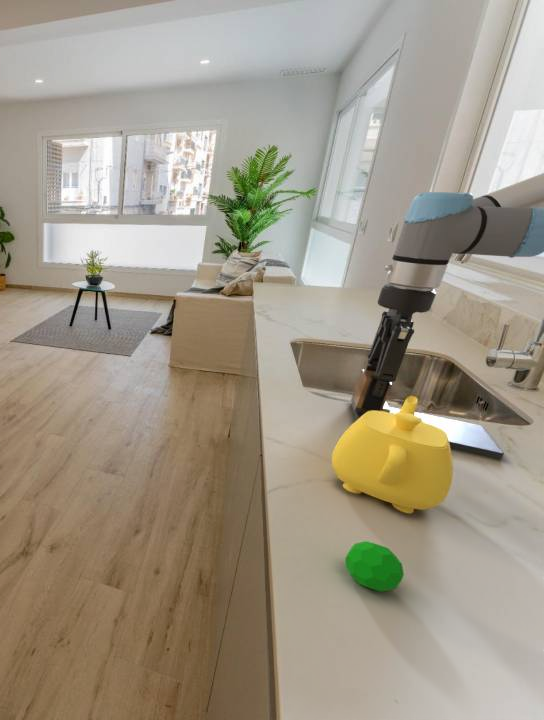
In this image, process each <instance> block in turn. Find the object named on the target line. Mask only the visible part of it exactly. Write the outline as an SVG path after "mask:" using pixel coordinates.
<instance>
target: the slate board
mask: <svg viewBox="0 0 544 720" xmlns="http://www.w3.org/2000/svg"><path fill="white" fill-rule="evenodd" d="M350 406H351V410H352V414H353V418H354V422H355V421H357V420H358V419H359V418H360V417H361V416H362V415H364V414H362V413H358V412H354V408H353V405H352V403H351V404H350ZM389 408H390V410H391V411H390V413H393V414H395V413H397V412H399V411H400V410H401V408H398V407H397V408H396V407H392V406H389ZM414 415H415V416H417V417H418V418H419V417H424V418H429V419H433V420H434V422H435V423H436V425H437V426H438V428H440V429H442V430H443V431H444V432H445V433H446V434H447V436H448V440H449V444H450V449H451V450H454V451H459V452H463V453H468V454H472V455H476V456H481V457H485V458H490V459H494V460H498V461H502V458H503V457H504V452H503V451H502V450H501V448H500V447H499V446H498V445H497V443H496V442H495V441H494V440H493V439H492V437H491V435H489V434H488V432H487V431H486V430H485V429H484V427H483V426H482V425H480V424H476V423H471V422H467V421H462V420H456V419H451V418H446V417H441V416H436V415H433V414H432V415H431V414H427V413H421V412H416V411H415V414H414Z"/></svg>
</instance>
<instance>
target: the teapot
mask: <svg viewBox="0 0 544 720" xmlns="http://www.w3.org/2000/svg"><path fill="white" fill-rule="evenodd" d="M418 399H419V398H417V396H415V395H409V396H407V398H406V399H405V401H404V402H403V404H402V406H401V408H400V409H401V410H400V411H399V412H397V413H395V414H393V413H388V412H383V411H375V410H372V411H368V412H366V413H365V414H364V415H362V416H361V417H360V418H359V419H358V420H357V421H355V420H354V422H353V423H351V425H350V426H349V427H348V428H347V429H346V430H345V431H344V432H343V434H341V437H340V438H339V439H338V441H337V443H336V445H335V446H334V448H333V452H332V453H331V454H332V455H331V466H332V468H333V471H334V473H335V475H336V477H337V478H338V479H339V480H340V481H342V482H343V484H342V487H343V488H344V490H346V491H348V492H350V493H353V494H356V495H357V494H362V493H363V494H366V495H369V496H371V497H373V498H375V499H378V500H382V501H384V502H387V503H391V505H392V506H393V508H394V509H396V510H398V511H399V512H402V513H405V514H413V513H414V512H415V510H420V511H421V510H428V509H432V508H434V507H436V506H438V505H440V504H442V503H443V502H444V501H445V499H446V498H447V497H448V494H449V491H450V488H451V485H452V480H453V474H454V473H453V472H454V464H453V457H452V455H453V454H452V449H450V444H449V440H448V436H447V434H446V433H445V432H444V431H443V430H442V429H440V428H438V427H436V426H433V425H431V424H428V423H425V422H422V421H421V419H420V418H418V417H417V416H415V415H414V414H415V412H416V410H417V406H418V402H419V400H418Z"/></svg>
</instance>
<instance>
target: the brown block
mask: <svg viewBox="0 0 544 720" xmlns="http://www.w3.org/2000/svg"><path fill="white" fill-rule="evenodd" d="M375 373H376V372H375V371H370V370H366V369H361V371H360V374H359V377H358V379H357V382H356V385H355V387H354V390H353V393H352V397H351V398H350V401H351V404H352V405H353V408H354V412H358V413H362V414H365V413H366V412H368V411H371V410H366V409H362V408H361V407H362V404H363V401H364V398H365V395H366V393H367V390H368V387H369V384H370V381H371V379H372V378H369V376H370V375H375ZM392 386H393V383H392V381H391V382H390V384H389V387H388V390H387V392H386V395H385V398H384V400H383V403H382V406H381V408H380V411H382V409H383V407H384V404H385V402H387V399H388V396H389V394H390V391H391V389H392Z"/></svg>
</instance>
